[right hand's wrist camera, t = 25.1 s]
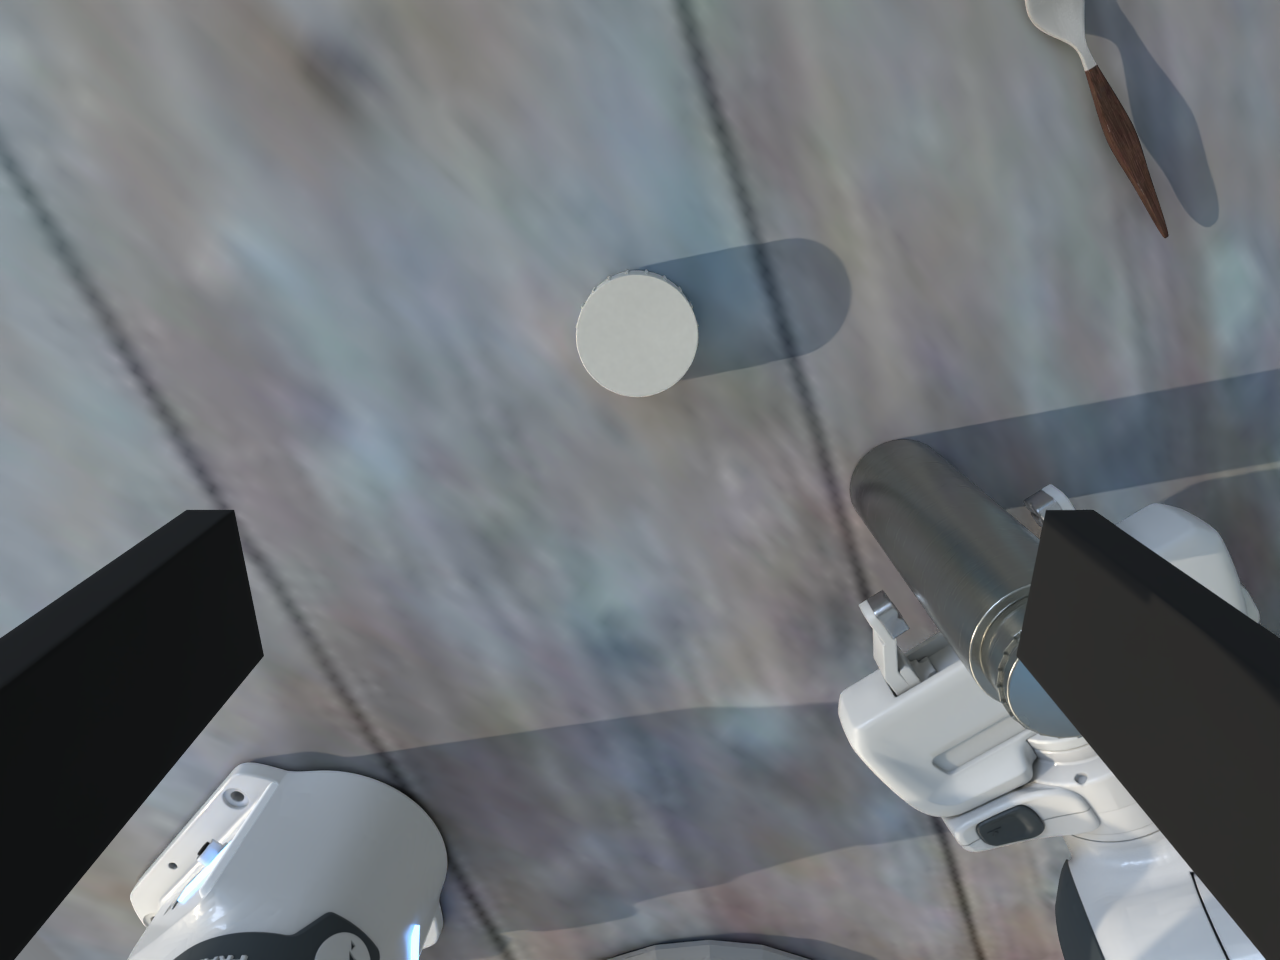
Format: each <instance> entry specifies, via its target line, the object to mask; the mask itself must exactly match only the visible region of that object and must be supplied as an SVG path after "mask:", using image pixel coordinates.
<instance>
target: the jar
mask: <svg viewBox="0 0 1280 960" xmlns="http://www.w3.org/2000/svg"><path fill="white" fill-rule="evenodd" d="M850 497H851V501H852V504H853V507H854V508H855V510H856V512H857V513H858V515H859V516H860V517H861V519H862V520H863V522H864V523H865V525H866V526H867V527H868V529H869V530H870V532H871V533H872V535H873V536H874V537H875V539H876V540H877V542H878V543H879V545H880V546H881V547H882V549H883V550H884V552H885V553H886V555H887V556H888V557H889V559H890V560H891V562H892V563H893V565H894V566H895V567H896V569H897V570H898V572H899V573H900V575H901V576H902V577H903V579H904V580H905V582H906V583H907V585H908V586H909V587H910V589H911V590H912V592H913V593H914V595H915V596H916V597H917V599H918V600H919V602H920V603H921V605H922V606H923V607H924V609H925V610H926V612H927V613H928V615H929V616H930V617H931V619H932V620H933V622H934V623H935V625H936V626H937V627H938V629H939V630H940V632H941V633H942V635H943V636H944V637H945V639H946V640H947V642H948V643H949V645H950V646H951V647H952V649H953V650H954V652H955V653H956V655H957V656H958V657H959V659H960V660H961V662H962V663H963V665H964V666H965V667H966V669H967V670H968V672H969V673H970V675H971V676H972V677H973V679H974V680H975V682H976V683H977V684H978V686H979V687H980V688H981V689H982V690H983V691H984V692H985V693H986V694H987V695H988V696H990V697H991V698H993V699H994V700H996V701H998V702H1000V703H1002V705H1003V706H1004V708H1005V709H1006V711H1007V712H1008V714H1009V715H1010V716H1011V718H1013V719H1014V720H1015V721H1017V722H1018V723H1019V724H1021V725H1022V726H1023V727H1024V728H1025V729H1028V730H1031V731H1034V732H1036V733H1039V734H1040V735H1042V736H1049V737H1056V738H1058V739H1061V738H1072V737H1077V738H1081V737H1082V735H1081V734H1080V733H1079V732H1078V730H1077V729H1076V728H1075V727H1074V726H1073V724H1072V723H1071V722H1070V721H1069V719H1068V718H1067V717H1066V716H1065V715H1064V713H1063V712H1062V711H1061V710H1060V709H1059V707H1058V706H1057V705H1056V704H1055V702H1054V701H1053V700H1052V699H1051V698H1050V696H1049V695H1048V694H1047V693H1046V691H1045V690H1044V689H1043V688H1042V687H1041V685H1040V684H1039V683H1038V682H1037V681H1036V679H1035V678H1034V677H1033V676H1032V674H1031V673H1030V672H1029V671H1028V670H1027V668H1026V667H1025V666H1024V665H1023V663H1022V662H1021V661H1020V660H1019V659H1018V657H1017V656H1016V655H1017V650H1018V645H1019V640H1020V635H1021V630H1022V625H1023V620H1024V615H1025V610H1026V605H1027V600H1028V596H1029V591H1030V586H1031V581H1032V576H1033V571H1034V566H1035V561H1036V556H1037V551H1038V546H1039V542H1040V539H1039V538H1038V537H1036V536H1035V535H1034V534H1033V533H1032V532H1030V531H1029V530H1028V529H1027V528H1026V527H1025V526H1023V525H1022V524H1021V523H1020V522H1019V521H1017V520H1016V519H1015V518H1014V517H1013V516H1011V515H1010V514H1009V513H1008V512H1007V511H1006V510H1004V509H1003V508H1002V507H1001V506H1000V505H998V504H997V503H996V502H995V501H994V500H992V499H991V498H990V497H989V496H988V495H987V494H985V493H984V492H983V491H982V490H981V489H979V488H978V487H977V486H976V485H975V484H974V483H972V482H971V481H970V480H969V479H968V478H966V477H965V476H964V475H963V474H962V473H960V472H959V471H958V470H957V469H956V468H955V467H953V466H952V465H951V464H950V463H949V462H947V461H946V460H945V459H944V458H943V457H942V456H940V455H939V454H938V453H937V452H936V451H934V450H933V449H932V448H931V447H929V446H927V445H926V444H924V443H921V442H918V441H914V440H907V439H901V440H893V441H889V442H886V443H884V444H881V445H879V446H877V447H875V448H874V449H872V450H871V451H870V452H868V453H867V454H866V455H865V456H864V457H863V458H862V459H861V461H860V462H859V463H858V465H857V466H856V468H855V470H854V472H853V475H852V478H851V483H850Z"/></svg>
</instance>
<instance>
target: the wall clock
mask: <svg viewBox="0 0 1280 960" xmlns="http://www.w3.org/2000/svg"><path fill="white" fill-rule="evenodd" d="M607 960H810V959H807V958H804V957H800V956H797V955H794V954H791V953H787V952H784V951H781V950H778V949H774V948H771V947H768V946H765V945H759V944H748V943H737V942H727V941H716V940H702V941H691V942H681V943H671V944H660V945H653V946H650V947H647V948H643V949H640V950H637V951H634V952H630V953H627V954H624V955H620V956H617V957H614V958H610V959H607Z"/></svg>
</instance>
